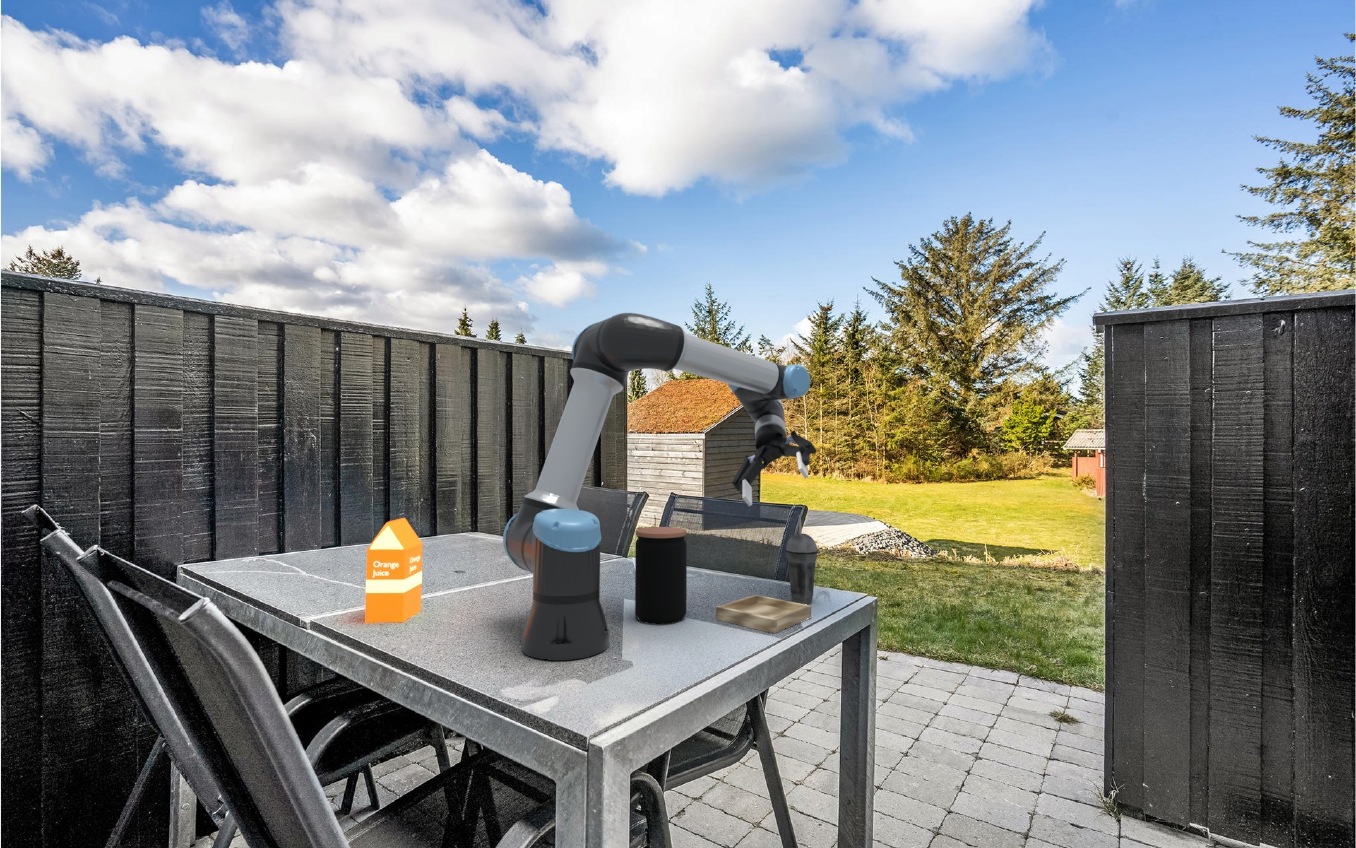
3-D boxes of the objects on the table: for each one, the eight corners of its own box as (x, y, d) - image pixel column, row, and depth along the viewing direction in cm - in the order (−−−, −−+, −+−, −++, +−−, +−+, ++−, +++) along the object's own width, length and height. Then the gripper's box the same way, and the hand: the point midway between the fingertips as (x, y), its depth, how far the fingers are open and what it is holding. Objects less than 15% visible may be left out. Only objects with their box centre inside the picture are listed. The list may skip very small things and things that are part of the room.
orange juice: (421, 611, 125) (423, 517, 126) (403, 623, 116) (405, 522, 117) (384, 611, 125) (387, 517, 126) (363, 623, 116) (366, 522, 117)
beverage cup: (822, 600, 134) (821, 513, 135) (812, 608, 128) (811, 516, 129) (792, 596, 138) (791, 511, 139) (781, 603, 132) (780, 514, 133)
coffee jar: (688, 611, 125) (688, 527, 126) (684, 626, 114) (684, 534, 115) (639, 610, 126) (639, 526, 127) (630, 624, 116) (631, 533, 116)
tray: (716, 619, 119) (716, 606, 120) (755, 605, 130) (755, 594, 130) (774, 633, 110) (774, 620, 110) (811, 618, 120) (811, 605, 121)
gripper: (824, 423, 137) (837, 474, 119) (735, 470, 146) (734, 524, 128) (809, 399, 135) (819, 447, 116) (719, 448, 144) (715, 500, 125)
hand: (774, 487), depth 122 cm, fingers open, 13 cm apart
